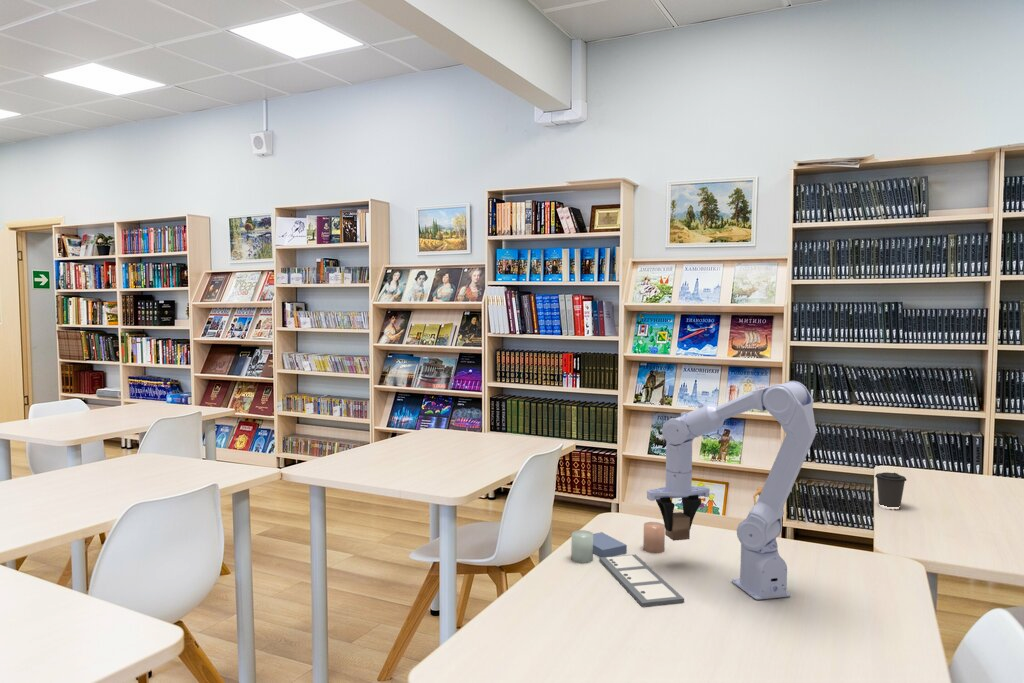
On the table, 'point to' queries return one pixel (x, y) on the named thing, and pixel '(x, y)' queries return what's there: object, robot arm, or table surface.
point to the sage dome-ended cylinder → (582, 546)
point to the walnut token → (679, 527)
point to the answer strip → (641, 581)
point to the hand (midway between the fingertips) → (677, 529)
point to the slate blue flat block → (607, 546)
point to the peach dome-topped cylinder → (654, 537)
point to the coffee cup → (890, 489)
